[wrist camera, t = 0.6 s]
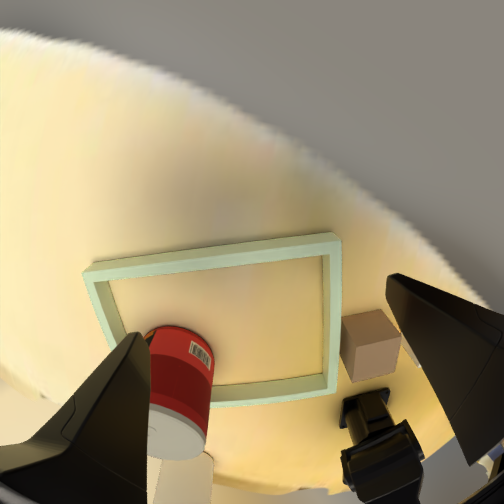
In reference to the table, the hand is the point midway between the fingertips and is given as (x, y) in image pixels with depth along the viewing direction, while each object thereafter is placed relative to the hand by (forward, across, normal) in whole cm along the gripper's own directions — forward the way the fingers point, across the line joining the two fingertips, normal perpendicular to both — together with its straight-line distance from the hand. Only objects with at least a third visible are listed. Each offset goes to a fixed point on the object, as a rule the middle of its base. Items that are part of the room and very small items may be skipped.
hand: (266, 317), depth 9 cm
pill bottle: (+10, +16, +36) cm, 41 cm away
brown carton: (+12, -9, +16) cm, 22 cm away
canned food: (+13, +10, +14) cm, 22 cm away
